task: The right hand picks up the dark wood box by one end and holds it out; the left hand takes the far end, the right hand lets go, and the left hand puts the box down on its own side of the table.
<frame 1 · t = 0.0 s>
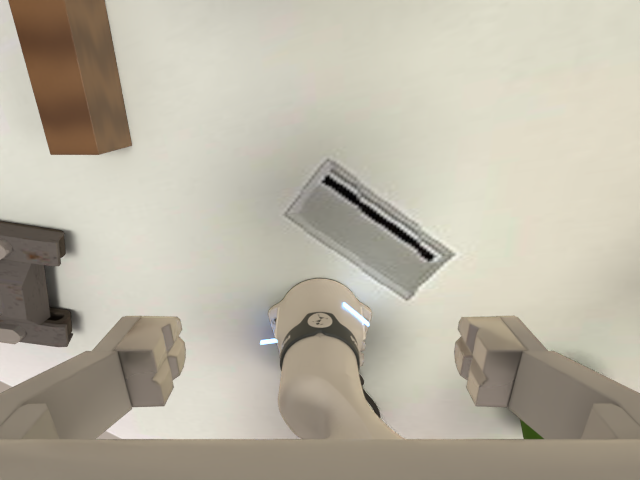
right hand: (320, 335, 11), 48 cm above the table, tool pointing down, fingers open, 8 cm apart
box: (91, 51, 51), on the table
toy: (7, 271, 63), on the table
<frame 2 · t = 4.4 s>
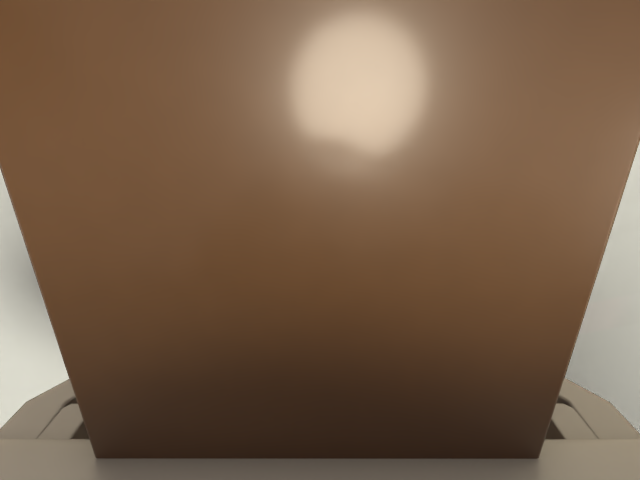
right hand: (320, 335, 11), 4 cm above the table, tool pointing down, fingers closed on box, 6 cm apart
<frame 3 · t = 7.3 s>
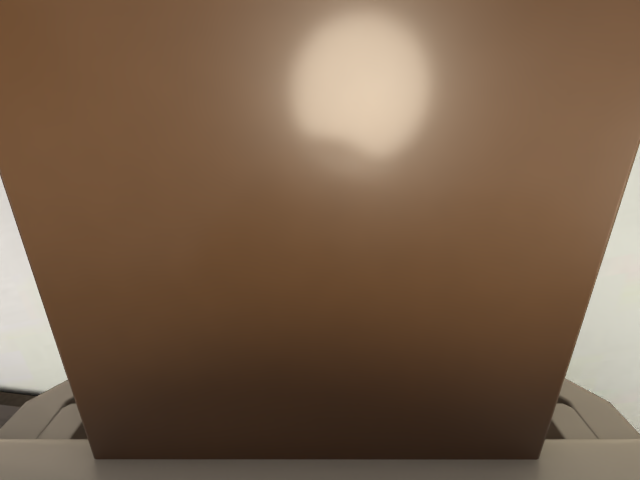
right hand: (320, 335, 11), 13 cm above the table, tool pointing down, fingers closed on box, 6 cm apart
toy: (60, 477, 32), on the table
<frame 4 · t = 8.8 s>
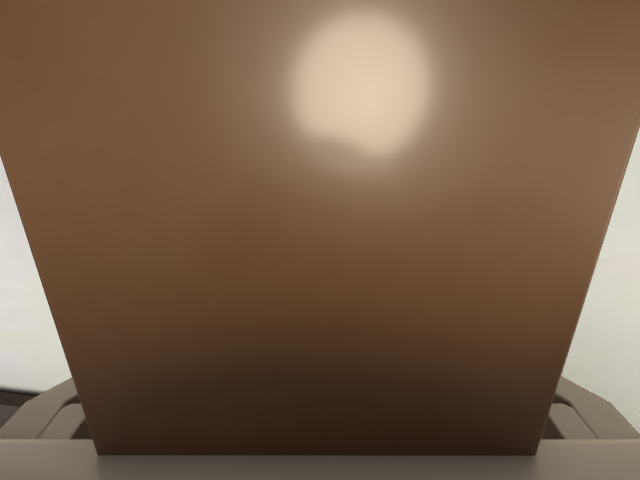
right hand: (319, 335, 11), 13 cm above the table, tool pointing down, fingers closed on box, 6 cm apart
toy: (59, 477, 32), on the table
when the right hand's fingers open (13 cm above the table, at t = 10.1 s): box moves 2 cm, held by the left hand.
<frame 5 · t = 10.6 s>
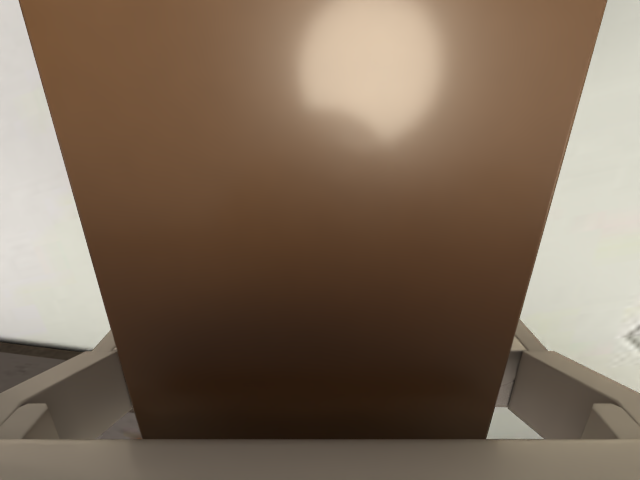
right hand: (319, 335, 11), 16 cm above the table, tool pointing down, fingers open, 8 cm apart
toy: (72, 427, 34), on the table
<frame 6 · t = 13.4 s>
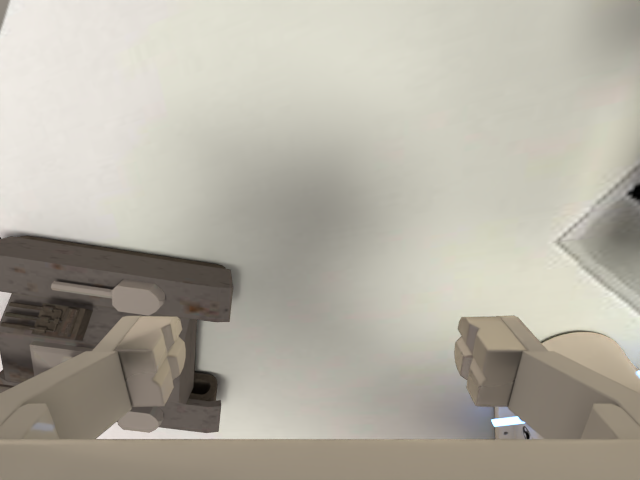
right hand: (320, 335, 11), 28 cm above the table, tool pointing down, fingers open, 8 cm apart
toy: (130, 322, 44), on the table
when the left hand's fingers open (5 cm above the table, at t = 18.4 s): box stays where it is, on the table.
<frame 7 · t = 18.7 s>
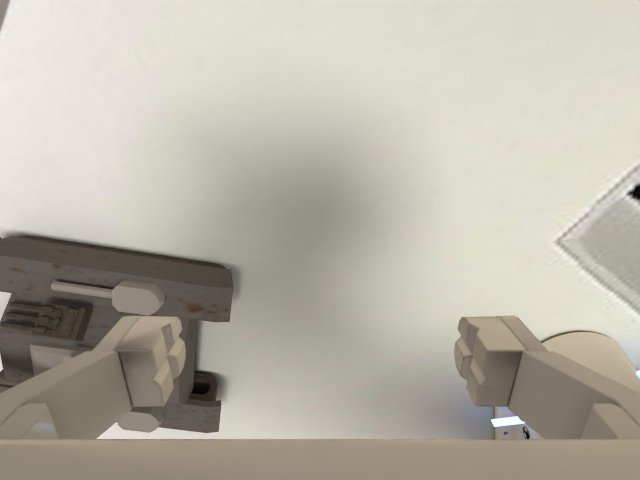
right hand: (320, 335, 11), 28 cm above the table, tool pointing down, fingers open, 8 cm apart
toy: (130, 322, 44), on the table
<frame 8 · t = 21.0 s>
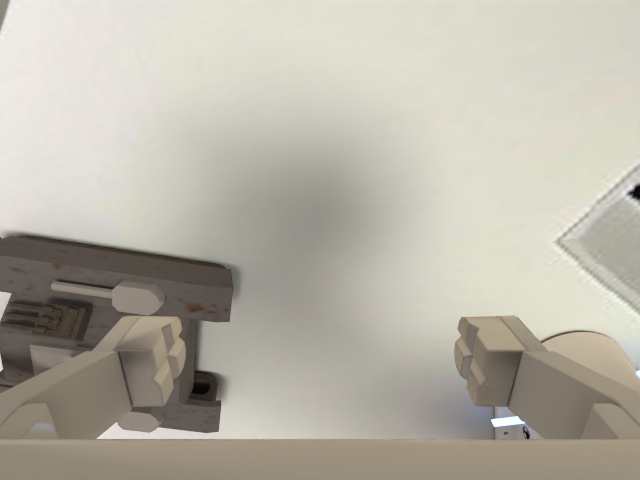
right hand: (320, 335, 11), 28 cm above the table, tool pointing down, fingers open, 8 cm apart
toy: (130, 322, 44), on the table
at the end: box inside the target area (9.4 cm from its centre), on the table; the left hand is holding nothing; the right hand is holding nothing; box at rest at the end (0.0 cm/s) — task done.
